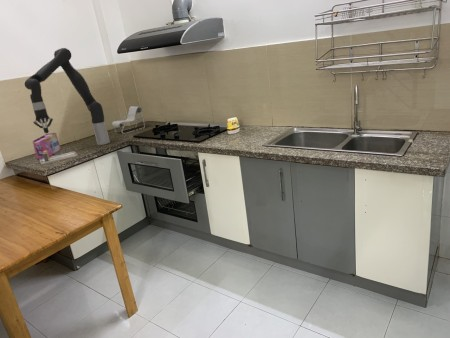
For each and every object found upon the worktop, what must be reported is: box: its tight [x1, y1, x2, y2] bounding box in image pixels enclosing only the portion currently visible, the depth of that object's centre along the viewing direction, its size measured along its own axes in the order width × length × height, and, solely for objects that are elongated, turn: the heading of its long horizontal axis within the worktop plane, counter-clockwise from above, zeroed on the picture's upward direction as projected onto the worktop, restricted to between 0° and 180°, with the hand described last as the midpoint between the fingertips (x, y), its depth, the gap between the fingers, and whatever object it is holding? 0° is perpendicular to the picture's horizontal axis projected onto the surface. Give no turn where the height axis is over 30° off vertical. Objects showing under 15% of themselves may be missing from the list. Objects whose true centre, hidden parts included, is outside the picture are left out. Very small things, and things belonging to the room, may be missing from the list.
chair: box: [111, 105, 146, 135], centre depth 313 cm, size 13×25×20 cm, turn 135°
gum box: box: [32, 132, 61, 160], centre depth 265 cm, size 24×8×14 cm, turn 0°
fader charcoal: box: [43, 153, 49, 161], centre depth 244 cm, size 2×4×5 cm
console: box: [39, 150, 78, 165], centre depth 252 cm, size 24×12×2 cm, turn 121°
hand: (46, 133), depth 247 cm, fingers closed
